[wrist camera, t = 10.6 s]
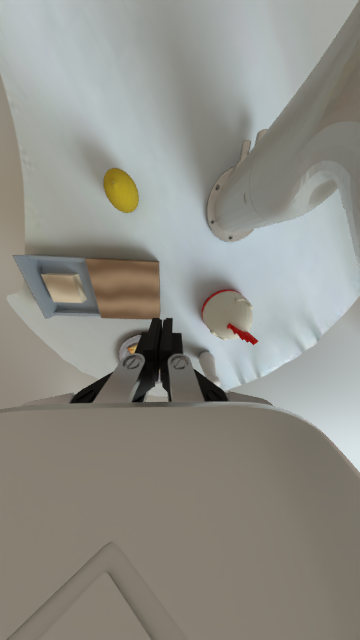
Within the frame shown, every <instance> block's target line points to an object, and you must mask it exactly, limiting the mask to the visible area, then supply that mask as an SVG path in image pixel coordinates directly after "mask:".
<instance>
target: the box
mask: <svg viewBox="0 0 360 640" xmlns="http://www.w3.org/2000/svg"><path fill="white" fill-rule="evenodd" d="M13 257H14V259H15V261H16V263H17V265H18V267H19V269H20V271H21V273H22V275H23V277H24V279H25V281H26V282H27V284H28V286H29V288H30V290H31V292H32V294H33V296H34V298H35V300H36V302H37V304H38V306H39V307H40V309H41V311H42V313H43V315H44V317H45V318H50V317H52V316H54V315H69V316H101V314H100V311H99V307H98V304H97V300H96V296H95V293H94V289H93V286H92V282H91V278H90V275H89V271H88V268H87V264H86V260H85V259H88V258H89V257H71V256H52V255H13ZM46 273H68V274H79V276H80V279H81V283H82V286H83V289H84V292H85V295H86V298H87V300H86V301H84V302H82V303H64V302H53V299H52V297H51V295H50V293H49V291H48V289H47V286H46V284H45V282H44V280H43V278H42V275H41V274H46Z"/></svg>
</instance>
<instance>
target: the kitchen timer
mask: <svg viewBox="0 0 360 640" xmlns="http://www.w3.org/2000/svg"><path fill="white" fill-rule="evenodd" d="M251 309H253V306H252V305H251V304H250V303H249V301H248V300H247V299H246V298H244V297H243V296H242V295H241V294H240V293H238V292H236V291H234V290H221V291H218V292H216V293H214V294H212V295H211V296H210V297H209V298H208V299H207V300H206V302H205V303H204V305H203V308H202V318H203V321H204V323H205V324H206V326H207V327H208V328H209V329H210V330H211V331H210V332H211V333H212V334H213V335H215V336H217V337H219V338H221V339H222V340H227V339H237V338H241V339H242V340H243V339H245V340H246V342H247V343H248V342H249V341H250V342H251V343H252V344H253V345H254V344H256V343H257V342H258V340H256V339H255V338H254V337H253V336H252V335H251V334H250V333H248V331H249V330H250V328H251V325H252V321H253V317H252V310H251Z"/></svg>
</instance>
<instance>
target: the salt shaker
mask: <svg viewBox="0 0 360 640" xmlns="http://www.w3.org/2000/svg"><path fill="white" fill-rule="evenodd" d="M199 363H200V365H201V367H202V369H203V371H204V374H205V376H206V378H207V379H208V380H210V381H211V382H213V383H214V384H215V385H217V386H218V387H219V386H220V384H221V383H220V379H219V378H218V377H217V376H216V368H215V359H214V356H213V355H212V354H211V353H210V352H207V351H204V352H202V353H201V355H200V357H199Z"/></svg>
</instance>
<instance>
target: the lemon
mask: <svg viewBox="0 0 360 640" xmlns="http://www.w3.org/2000/svg"><path fill="white" fill-rule="evenodd" d="M104 189H105V193H106V195H107V197H108V199H109V201H110V202H111V203H112V205H113V206H114V207H115V208H117V209H118V210H119V211H122V212H125V213H130V212H132V211H134V210H135V209H136V207H137V205H138V201H139V195H138V190H137V188H136V185H135V183H134V181H133V180H132V178H131V177H130V176H129V175H128V174H127V173H126V172H124V171H123V170H121V169H118V168H112V169H110V170H108V171H107V172H106V174H105V176H104Z"/></svg>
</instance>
